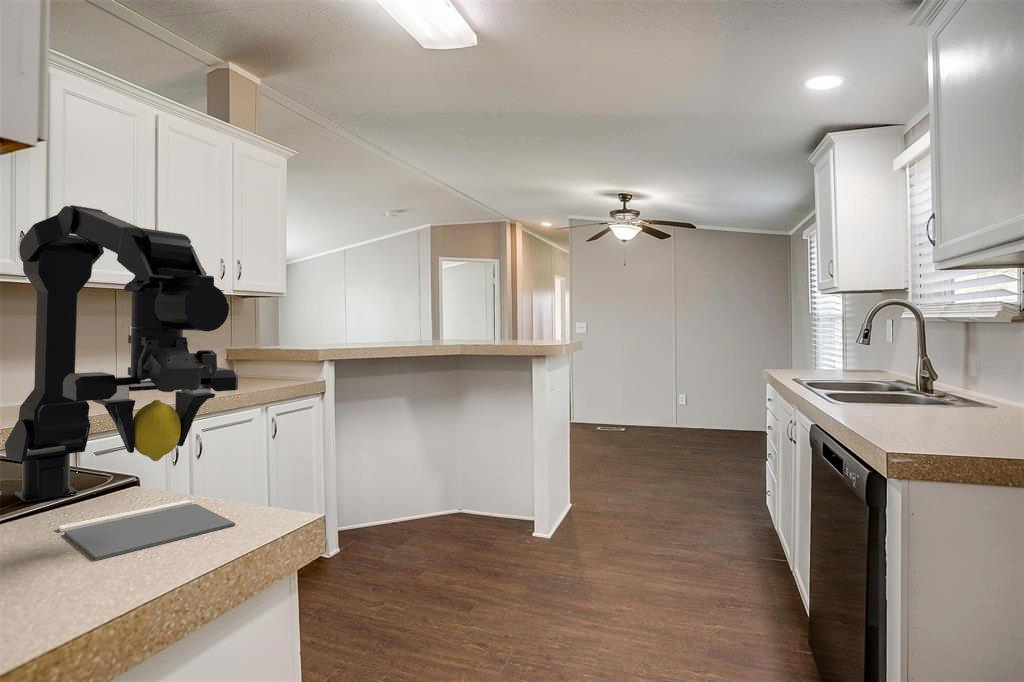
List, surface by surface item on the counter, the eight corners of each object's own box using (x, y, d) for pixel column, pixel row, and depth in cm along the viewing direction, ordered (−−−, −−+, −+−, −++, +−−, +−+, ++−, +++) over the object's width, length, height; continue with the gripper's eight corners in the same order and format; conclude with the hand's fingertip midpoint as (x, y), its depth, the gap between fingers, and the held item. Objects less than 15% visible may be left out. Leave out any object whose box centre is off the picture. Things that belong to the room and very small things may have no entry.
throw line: (57, 529, 77) (57, 526, 77) (187, 502, 89) (187, 499, 89) (61, 531, 76) (61, 528, 76) (192, 504, 89) (192, 501, 89)
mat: (64, 534, 75) (64, 531, 75) (195, 506, 88) (195, 503, 88) (96, 560, 68) (96, 557, 68) (235, 525, 80) (235, 522, 80)
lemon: (157, 468, 74) (158, 403, 73) (119, 464, 75) (120, 401, 74) (190, 458, 79) (191, 398, 79) (154, 454, 80) (155, 396, 80)
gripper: (92, 330, 64) (91, 473, 65) (259, 331, 78) (256, 448, 79) (61, 326, 71) (60, 456, 72) (219, 328, 85) (218, 436, 86)
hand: (156, 449), depth 77 cm, fingers closed on lemon, 5 cm apart
